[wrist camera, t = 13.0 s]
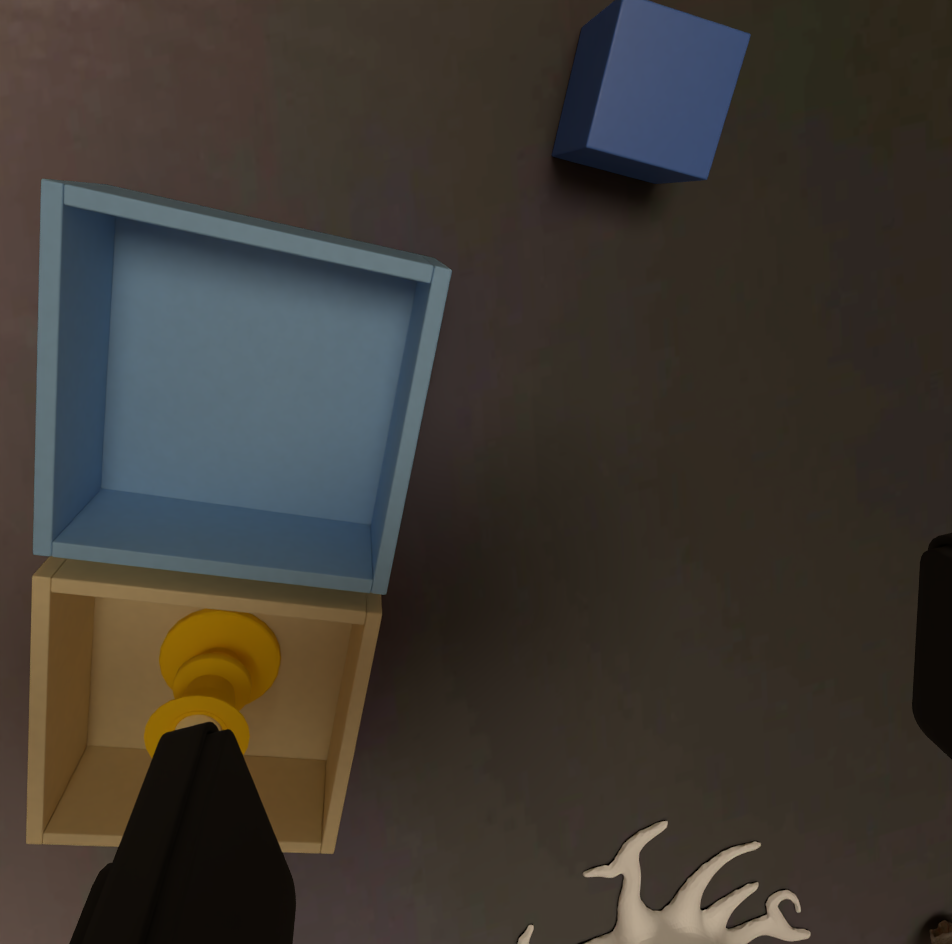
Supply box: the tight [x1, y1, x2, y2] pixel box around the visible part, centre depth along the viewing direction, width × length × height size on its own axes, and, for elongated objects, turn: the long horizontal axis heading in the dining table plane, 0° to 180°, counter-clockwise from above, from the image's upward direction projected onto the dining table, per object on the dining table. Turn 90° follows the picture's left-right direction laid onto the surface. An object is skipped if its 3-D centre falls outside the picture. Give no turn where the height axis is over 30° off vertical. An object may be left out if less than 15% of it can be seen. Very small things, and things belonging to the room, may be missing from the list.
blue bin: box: [33, 179, 452, 595], centre depth 26 cm, size 12×12×6 cm
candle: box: [144, 608, 281, 758], centre depth 25 cm, size 5×5×16 cm
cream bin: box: [26, 556, 382, 854], centre depth 30 cm, size 12×12×6 cm
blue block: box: [552, 0, 750, 184], centre depth 25 cm, size 4×4×4 cm
